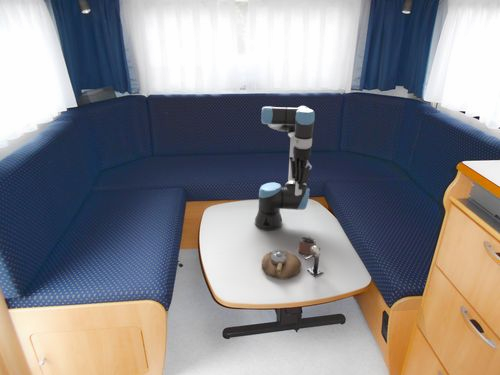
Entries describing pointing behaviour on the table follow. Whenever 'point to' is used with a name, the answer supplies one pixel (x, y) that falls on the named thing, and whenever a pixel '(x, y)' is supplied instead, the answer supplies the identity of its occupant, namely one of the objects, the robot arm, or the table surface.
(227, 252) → the table surface
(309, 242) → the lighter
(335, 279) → the table surface
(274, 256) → the cover
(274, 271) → the turntable
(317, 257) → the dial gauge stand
